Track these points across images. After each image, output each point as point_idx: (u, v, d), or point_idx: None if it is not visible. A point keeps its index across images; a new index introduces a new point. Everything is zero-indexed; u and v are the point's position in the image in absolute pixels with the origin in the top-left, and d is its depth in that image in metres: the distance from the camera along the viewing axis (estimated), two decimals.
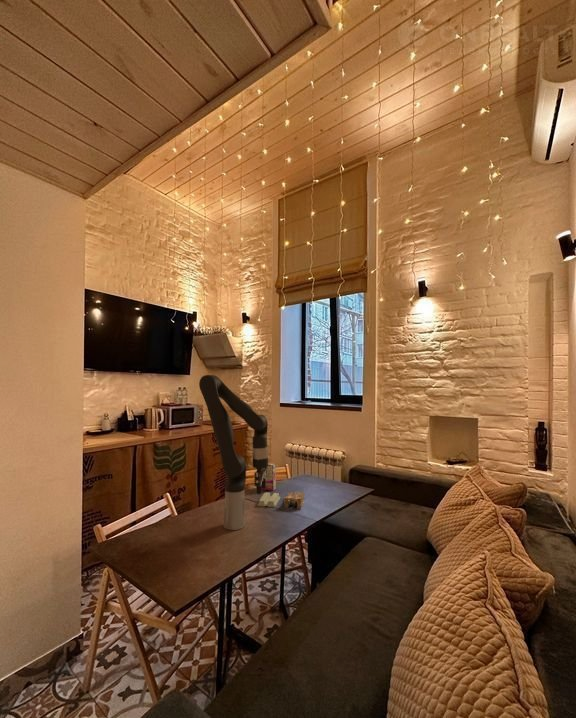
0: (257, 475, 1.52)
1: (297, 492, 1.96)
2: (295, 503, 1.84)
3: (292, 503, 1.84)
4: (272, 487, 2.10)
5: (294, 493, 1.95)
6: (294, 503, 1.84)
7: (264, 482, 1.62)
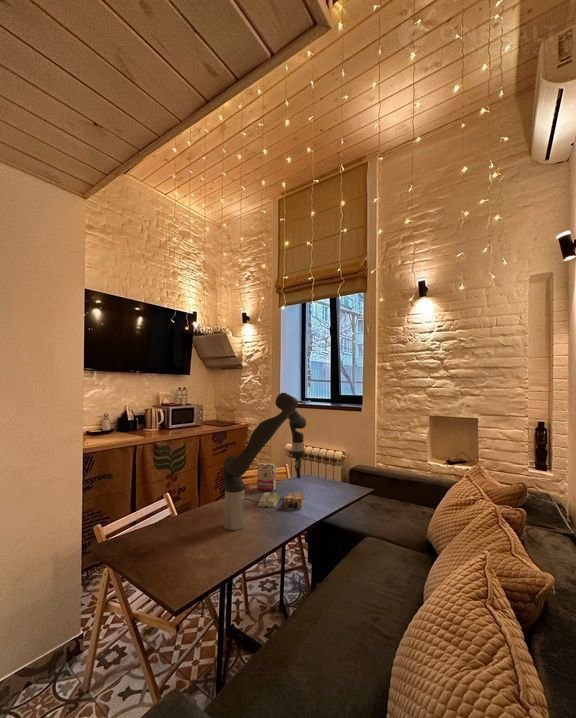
0: (297, 467, 1.98)
1: (297, 492, 1.96)
2: (295, 503, 1.84)
3: (292, 503, 1.84)
4: (272, 487, 2.10)
5: (294, 493, 1.95)
6: (294, 503, 1.84)
7: None
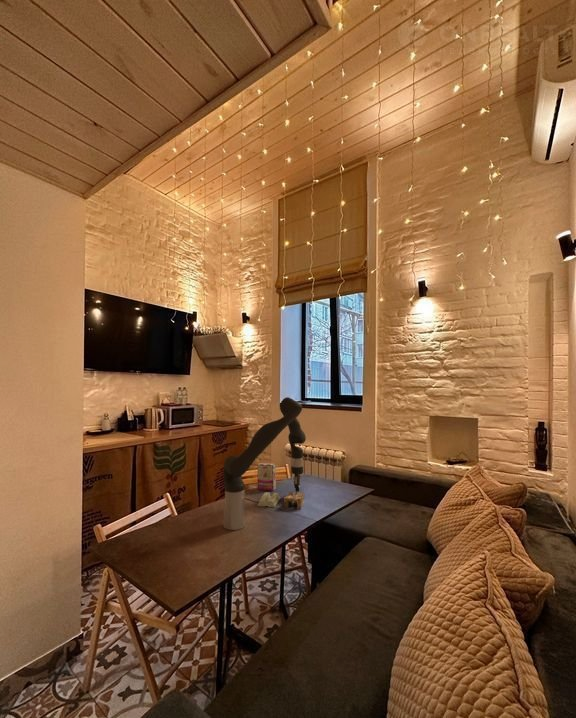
0: (296, 483, 1.95)
1: (296, 492, 1.96)
2: (294, 502, 1.84)
3: (291, 503, 1.84)
4: (272, 487, 2.10)
5: (293, 493, 1.95)
6: (294, 503, 1.84)
7: None
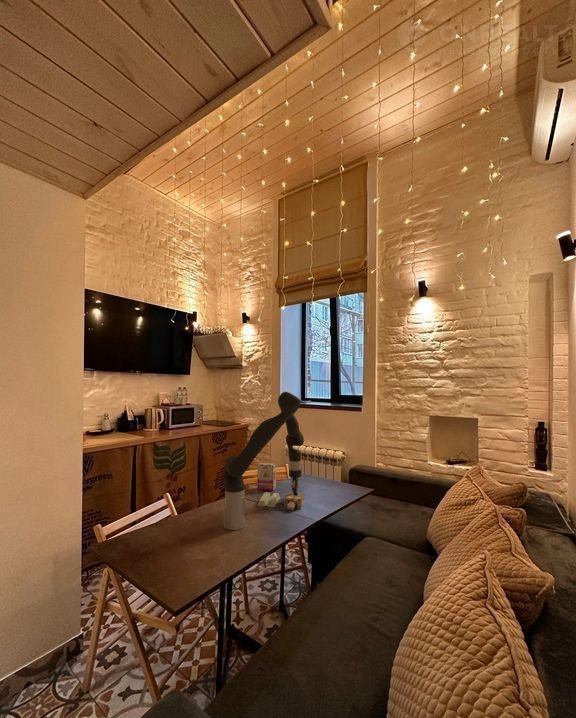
0: (294, 487, 1.87)
1: None
2: (292, 507, 1.76)
3: (289, 508, 1.77)
4: (272, 487, 2.10)
5: None
6: (291, 508, 1.76)
7: None
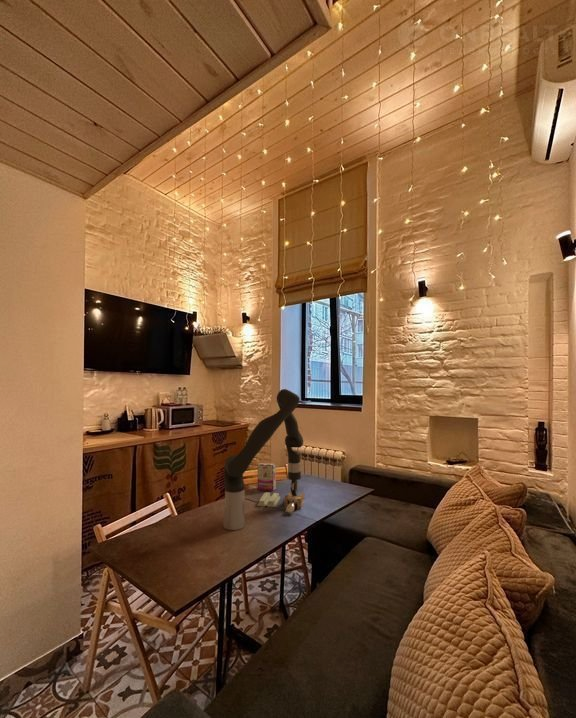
0: (293, 490, 1.82)
1: None
2: (291, 511, 1.72)
3: (287, 512, 1.72)
4: (272, 487, 2.10)
5: (290, 501, 1.83)
6: (290, 511, 1.72)
7: (295, 495, 1.88)
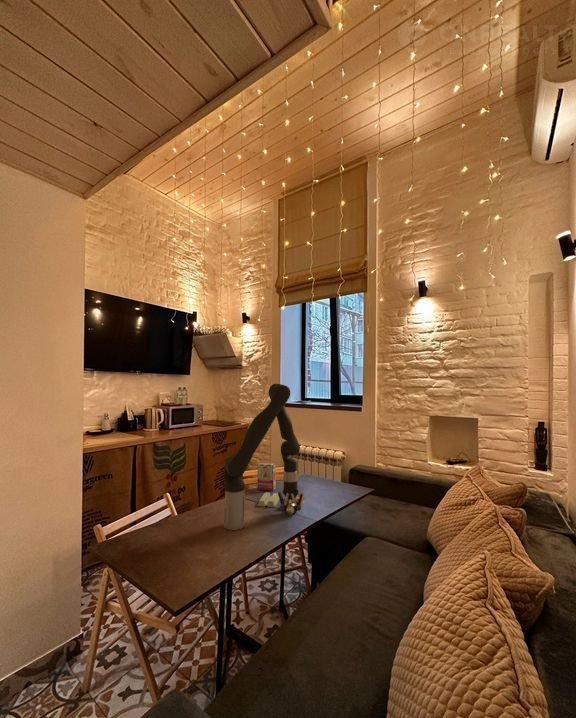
0: None
1: None
2: (291, 511, 1.72)
3: (288, 511, 1.72)
4: (272, 487, 2.10)
5: (291, 500, 1.83)
6: (291, 511, 1.72)
7: (294, 507, 1.74)
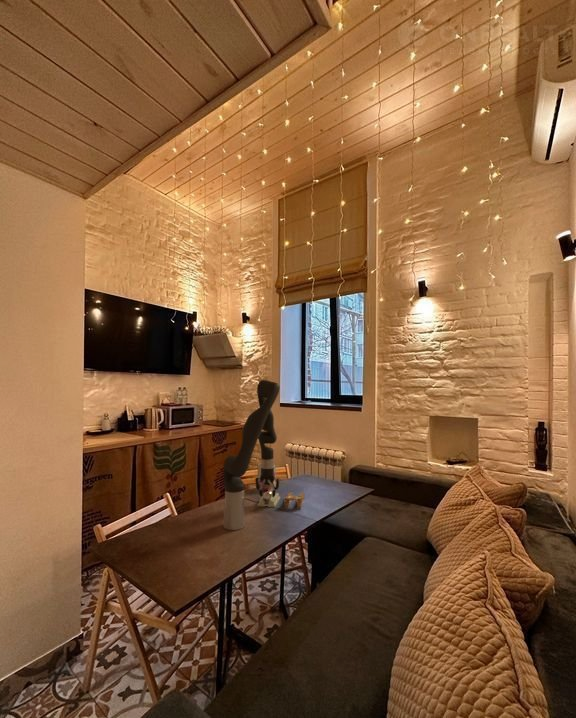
0: None
1: (271, 487, 1.95)
2: (268, 498, 1.83)
3: (264, 498, 1.84)
4: None
5: (268, 489, 1.95)
6: (267, 498, 1.83)
7: None
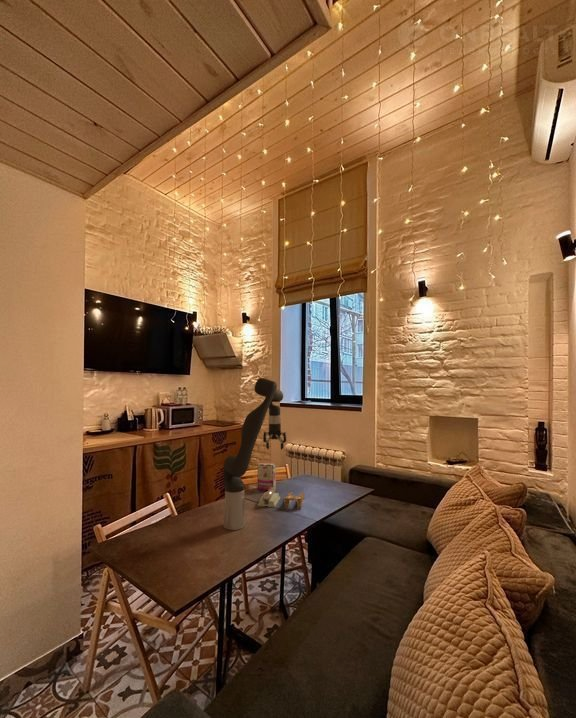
0: None
1: (271, 487, 1.95)
2: (268, 498, 1.83)
3: (264, 498, 1.84)
4: None
5: (268, 489, 1.95)
6: (267, 498, 1.83)
7: None
